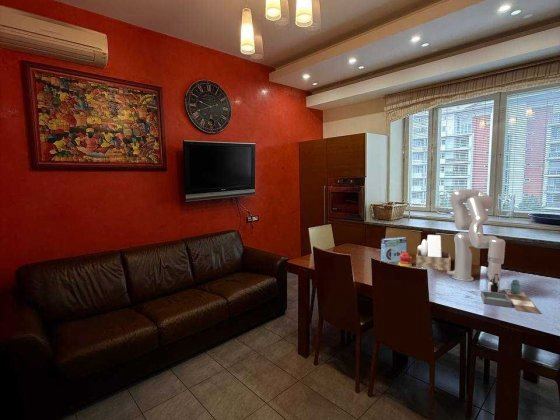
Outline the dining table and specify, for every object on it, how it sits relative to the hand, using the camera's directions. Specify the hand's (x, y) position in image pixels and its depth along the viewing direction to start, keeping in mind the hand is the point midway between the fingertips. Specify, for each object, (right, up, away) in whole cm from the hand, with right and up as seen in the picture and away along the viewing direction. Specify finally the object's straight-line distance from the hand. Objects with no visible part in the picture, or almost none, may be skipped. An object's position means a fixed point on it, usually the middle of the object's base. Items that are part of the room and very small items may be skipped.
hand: (493, 289), depth 176 cm
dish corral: (-5, +3, +60) cm, 60 cm away
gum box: (-38, +2, +55) cm, 67 cm away
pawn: (+13, -2, 0) cm, 13 cm away
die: (0, -1, 0) cm, 1 cm away
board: (+7, -3, -11) cm, 14 cm away
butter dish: (0, +15, +58) cm, 60 cm away
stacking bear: (-39, 0, +30) cm, 49 cm away
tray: (-7, -3, -12) cm, 14 cm away
